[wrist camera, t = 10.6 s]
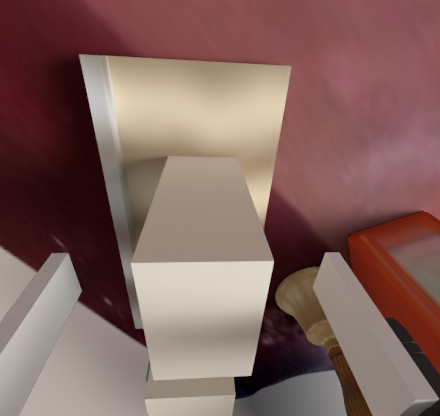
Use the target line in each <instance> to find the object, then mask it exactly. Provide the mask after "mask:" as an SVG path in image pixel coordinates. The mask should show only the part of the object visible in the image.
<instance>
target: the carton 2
mask: <svg viewBox="0 0 440 416" xmlns="http://www.w3.org/2000/svg"><path fill="white" fill-rule="evenodd" d="M146 380H147V388H146V394H145V403H146V407H147V412H148V416H232V411H233V405H234V400H235V386H234V377H214V378H193V379H172V380H153V374H152V369H151V364H150V359H149V366H148V371H147V377H146Z"/></svg>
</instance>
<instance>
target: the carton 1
mask: <svg viewBox="0 0 440 416" xmlns="http://www.w3.org/2000/svg"><path fill="white" fill-rule="evenodd" d="M273 265H274V259H273V256H272V253H271V251H270V248H269V245H268V242H267V239H266V237H265V234H264V231H263V228H262V225H261V223H260V220H259V217H258V214H257V212H256V209H255V206H254V203H253V200H252V198H251V195H250V192H249V189H248V186H247V184H246V181H245V178H244V175H243V172H242V170H241V167H240V164H239V161H238V158H237V157H206V156H168V158H167V161H166V164H165V167H164V170H163V172H162V175H161V178H160V181H159V184H158V187H157V190H156V192H155V195H154V198H153V201H152V204H151V207H150V210H149V212H148V215H147V218H146V221H145V224H144V227H143V230H142V232H141V235H140V238H139V241H138V244H137V247H136V250H135V252H134V255H133V258H132V261H131V267H132V272H133V277H134V282H135V287H136V292H137V297H138V303H139V308H140V313H141V318H142V323H143V328H144V333H145V338H146V344H147V349H148V354H149V359H150V364H151V369H152V374H153V380H172V379H193V378H214V377H234V376H251V373H252V368H253V364H254V359H255V354H256V349H257V344H258V339H259V334H260V329H261V324H262V319H263V314H264V309H265V304H266V299H267V294H268V289H269V284H270V279H271V274H272V269H273Z"/></svg>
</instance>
